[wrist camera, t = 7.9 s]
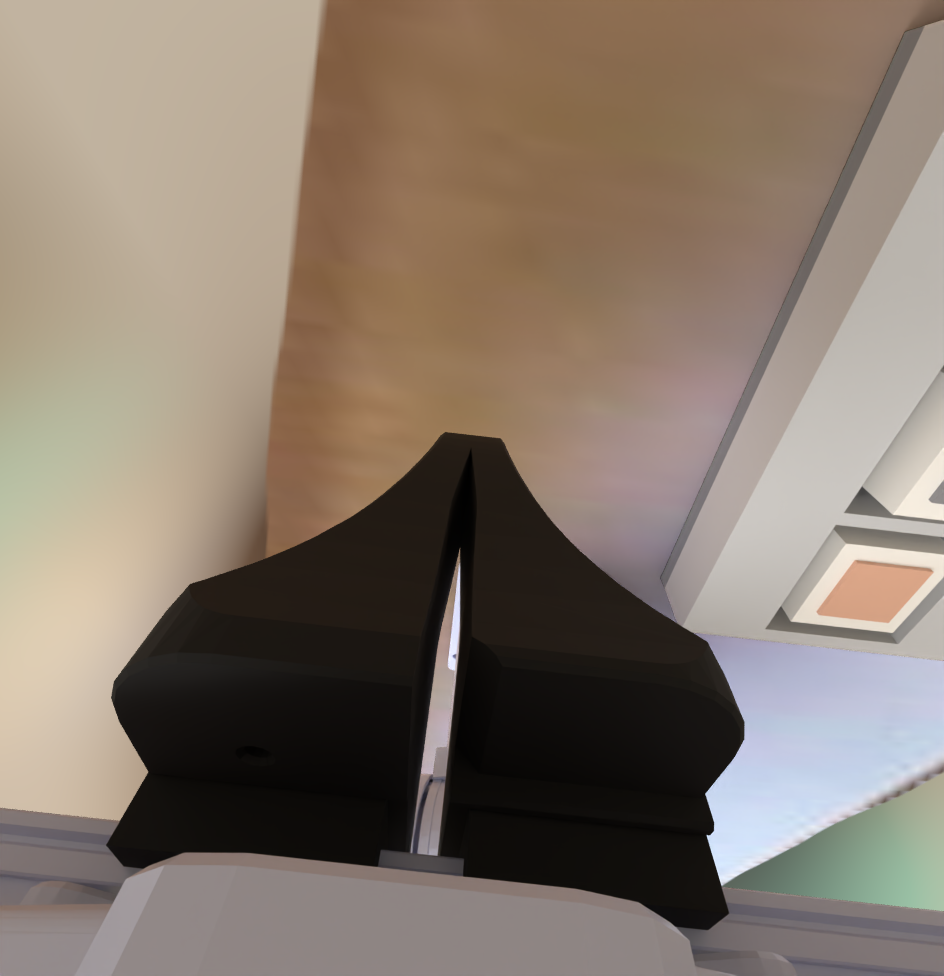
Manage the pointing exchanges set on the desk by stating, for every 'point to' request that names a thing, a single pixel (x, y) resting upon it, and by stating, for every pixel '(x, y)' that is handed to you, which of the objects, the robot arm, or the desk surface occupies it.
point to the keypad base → (833, 386)
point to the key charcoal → (915, 461)
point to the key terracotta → (866, 579)
